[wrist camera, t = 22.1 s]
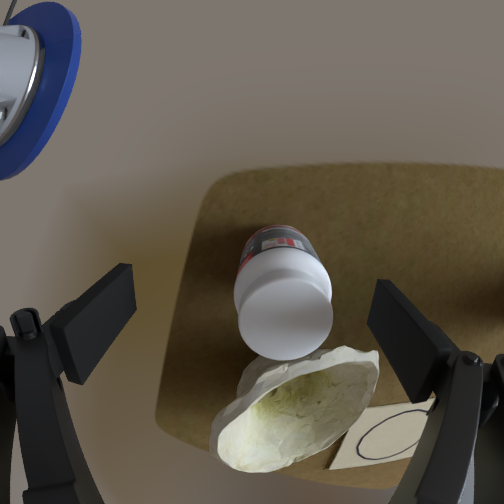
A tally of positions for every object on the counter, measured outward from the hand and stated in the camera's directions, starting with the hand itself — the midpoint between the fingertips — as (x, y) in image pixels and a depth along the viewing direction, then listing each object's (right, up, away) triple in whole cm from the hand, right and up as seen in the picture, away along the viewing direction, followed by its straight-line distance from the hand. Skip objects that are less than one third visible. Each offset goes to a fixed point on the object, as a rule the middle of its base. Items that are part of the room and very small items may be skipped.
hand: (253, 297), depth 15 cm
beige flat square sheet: (+19, -23, +15) cm, 33 cm away
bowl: (+4, -9, +12) cm, 15 cm away
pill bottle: (+2, +2, +9) cm, 9 cm away
